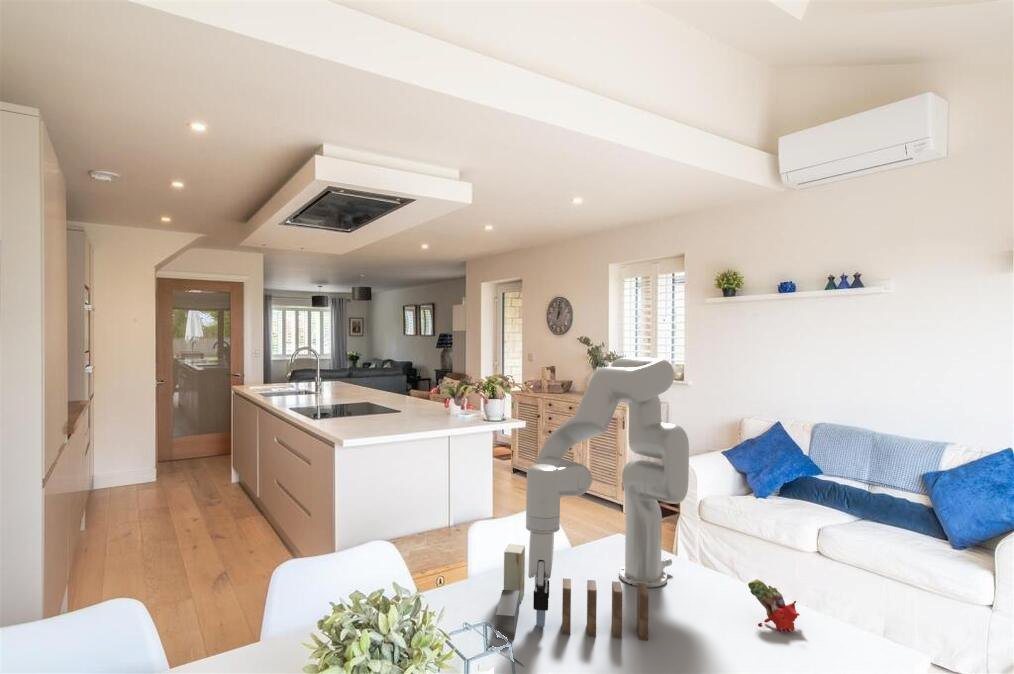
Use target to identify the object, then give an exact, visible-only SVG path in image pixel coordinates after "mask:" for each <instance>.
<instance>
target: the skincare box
mask: <svg viewBox="0 0 1014 674" xmlns="http://www.w3.org/2000/svg"><path fill="white" fill-rule="evenodd" d="M503 554H504V555H503V557H504V558H503V590H514V591H519V605H520V604H521V603H522V601H523V599H524V597H525V596H524V595H525V573H526V571H525V569H526V568H525V567H526V566H525V565H526V562H525V561H526V557H525V556H526V545H524V544H517V543H515V544H514V543H513V544H512V543H509V544H508V545H507V547H506V548H505V550H504V552H503Z"/></svg>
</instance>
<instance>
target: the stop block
mask: <svg viewBox="0 0 1014 674" xmlns="http://www.w3.org/2000/svg"><path fill="white" fill-rule="evenodd" d="M519 614H520V604H519V591H514V590H504V589H502V590H501V594H500V598H499V602H498V606H497V610H496V613H495V631H496V630H497V631H499V632H500V633H501V634H502V635H504V636H505V637H507V638H508V639H507V640H515V637H516V631H517V627H518V622H519ZM496 636H497V635H496V634H495V637H496ZM497 639H500V638H499V637H498V638H497Z"/></svg>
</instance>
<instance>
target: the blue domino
mask: <svg viewBox="0 0 1014 674" xmlns="http://www.w3.org/2000/svg"><path fill="white" fill-rule="evenodd" d="M544 577H546V574H544ZM537 583H538V580H537ZM544 583H545V580H544ZM535 615H536V621H535V622H536V623H535V624H536V627H545V625H546V611H544V610H536V614H535Z"/></svg>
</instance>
